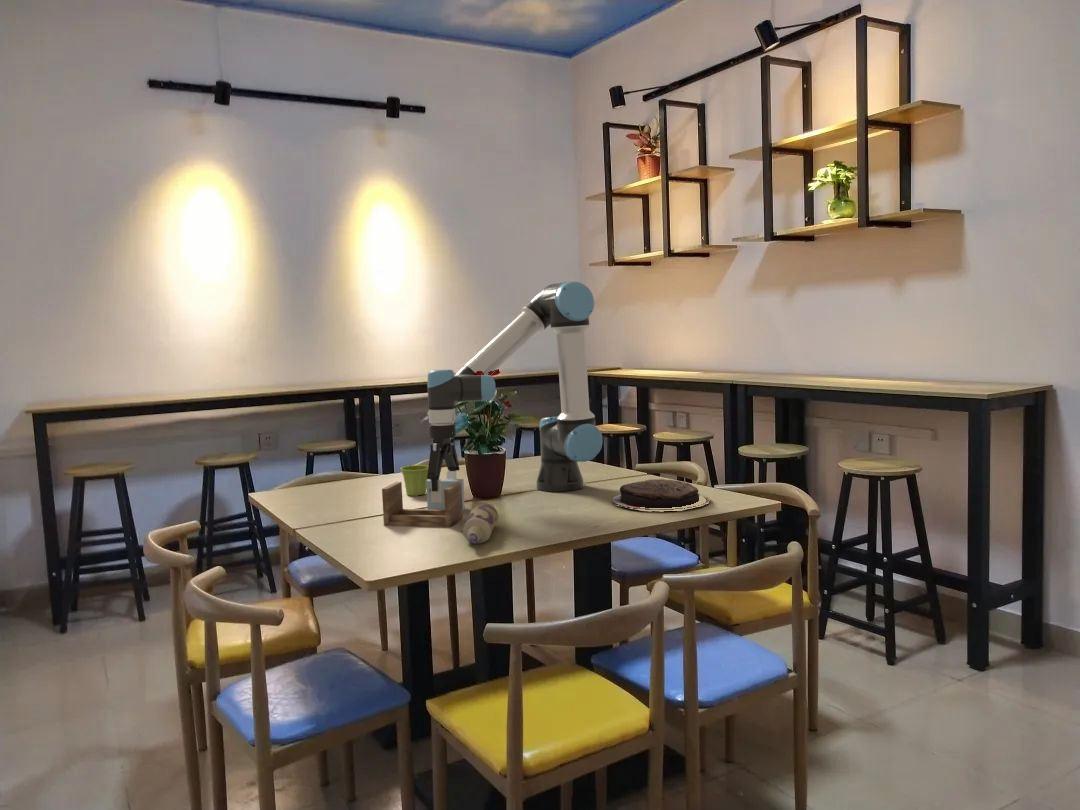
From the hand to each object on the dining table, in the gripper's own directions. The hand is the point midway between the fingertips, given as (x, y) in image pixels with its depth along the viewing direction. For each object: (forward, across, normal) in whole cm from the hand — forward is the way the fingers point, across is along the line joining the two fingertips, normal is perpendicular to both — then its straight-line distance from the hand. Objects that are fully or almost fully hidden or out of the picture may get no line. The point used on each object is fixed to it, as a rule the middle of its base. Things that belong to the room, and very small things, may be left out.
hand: (444, 497), depth 241 cm
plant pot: (+4, -23, -18) cm, 29 cm away
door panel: (+4, 0, 0) cm, 4 cm away
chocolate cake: (+4, -15, +60) cm, 62 cm away
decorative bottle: (+4, +30, +18) cm, 35 cm away
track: (+4, +14, -1) cm, 14 cm away
